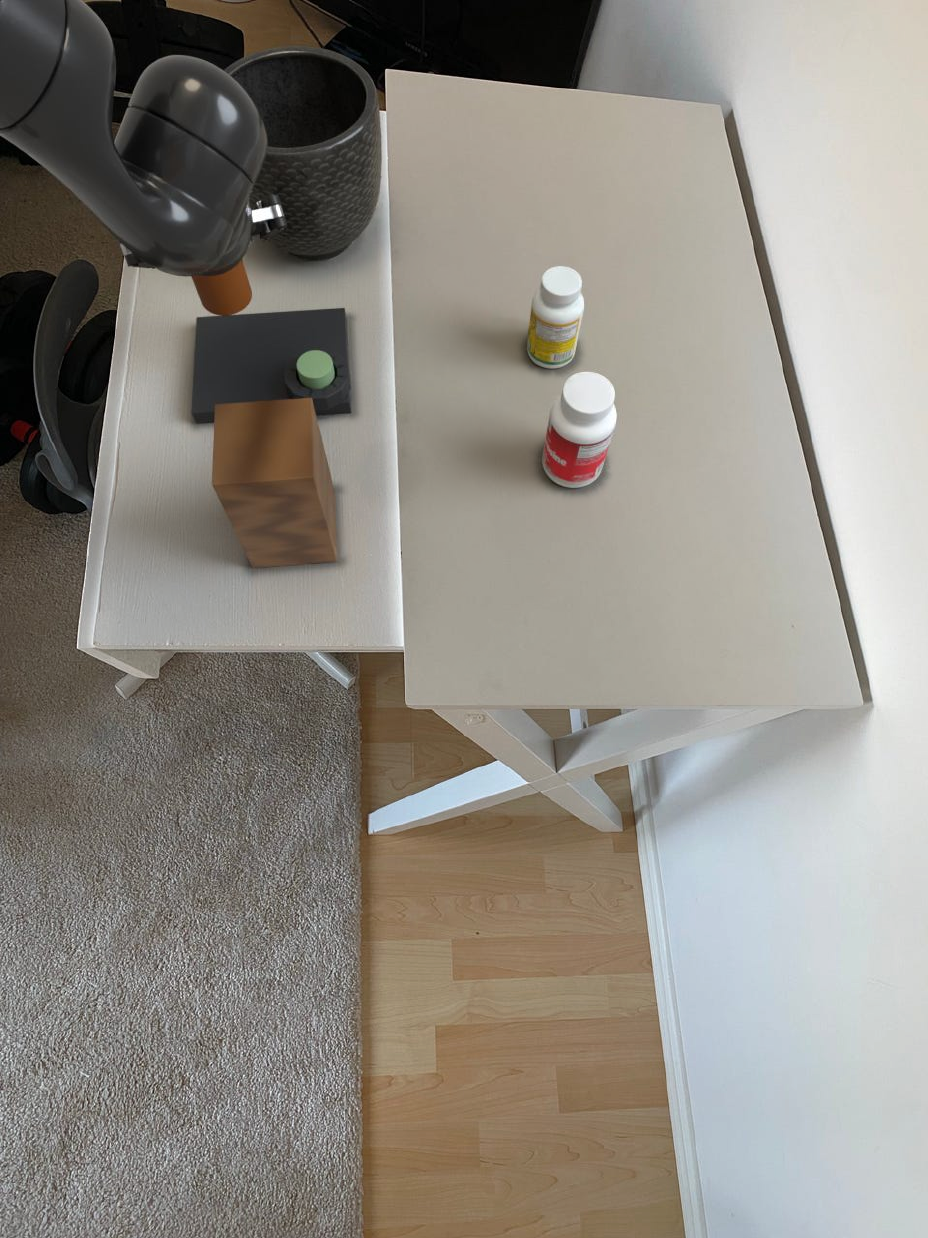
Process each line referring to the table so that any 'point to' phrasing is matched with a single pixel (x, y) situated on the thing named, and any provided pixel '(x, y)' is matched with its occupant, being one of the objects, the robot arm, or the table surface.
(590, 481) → the pill bottle
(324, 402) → the scale
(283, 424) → the oak stand
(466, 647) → the table surface
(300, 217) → the planter
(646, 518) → the table surface
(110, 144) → the robot arm
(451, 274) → the table surface
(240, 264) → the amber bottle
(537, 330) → the supplement bottle
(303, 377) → the button
